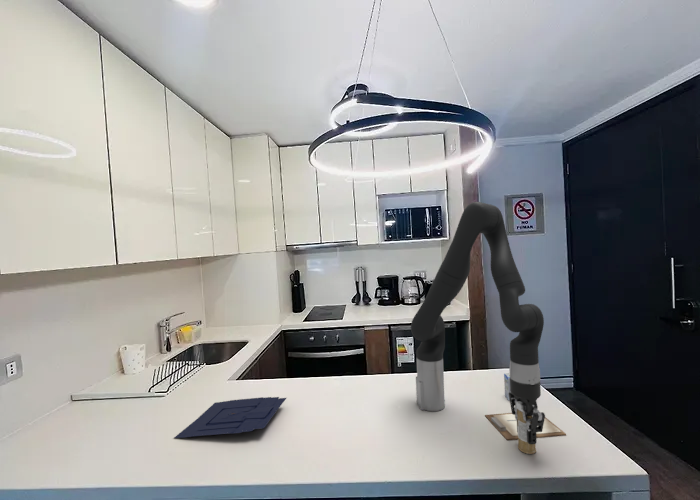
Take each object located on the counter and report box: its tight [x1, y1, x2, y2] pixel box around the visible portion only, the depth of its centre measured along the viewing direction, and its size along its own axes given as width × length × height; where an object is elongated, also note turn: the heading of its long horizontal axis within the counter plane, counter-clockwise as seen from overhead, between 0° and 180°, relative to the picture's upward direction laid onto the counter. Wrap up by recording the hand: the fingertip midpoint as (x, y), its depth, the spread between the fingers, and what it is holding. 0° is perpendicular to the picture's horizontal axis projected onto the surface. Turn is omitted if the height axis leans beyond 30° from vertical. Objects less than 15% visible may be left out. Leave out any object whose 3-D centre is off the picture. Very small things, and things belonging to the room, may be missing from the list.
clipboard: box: [484, 412, 567, 441], centre depth 108 cm, size 18×14×2 cm
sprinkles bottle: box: [516, 401, 537, 455], centre depth 95 cm, size 5×5×13 cm
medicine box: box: [503, 372, 510, 402], centre depth 125 cm, size 8×4×9 cm, turn 84°
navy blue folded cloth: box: [173, 396, 287, 439], centre depth 118 cm, size 24×30×4 cm
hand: (526, 438), depth 95 cm, fingers closed on sprinkles bottle, 4 cm apart
